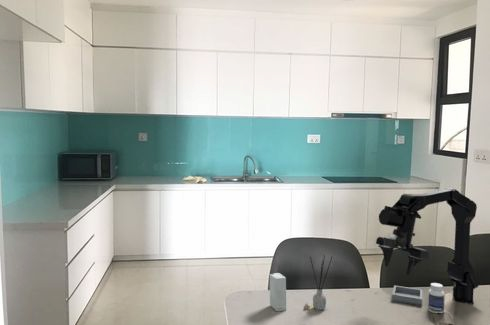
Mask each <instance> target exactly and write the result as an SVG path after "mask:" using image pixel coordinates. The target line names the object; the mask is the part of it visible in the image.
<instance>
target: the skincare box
mask: <svg viewBox="0 0 490 325" xmlns="http://www.w3.org/2000/svg"><path fill="white" fill-rule="evenodd" d="M269 304H270V307H271V308H272V309H273V310H274V311H275V312H283V311H287V277H285V276H284V275H283V274H281V273H280V272H275V273H269Z"/></svg>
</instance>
